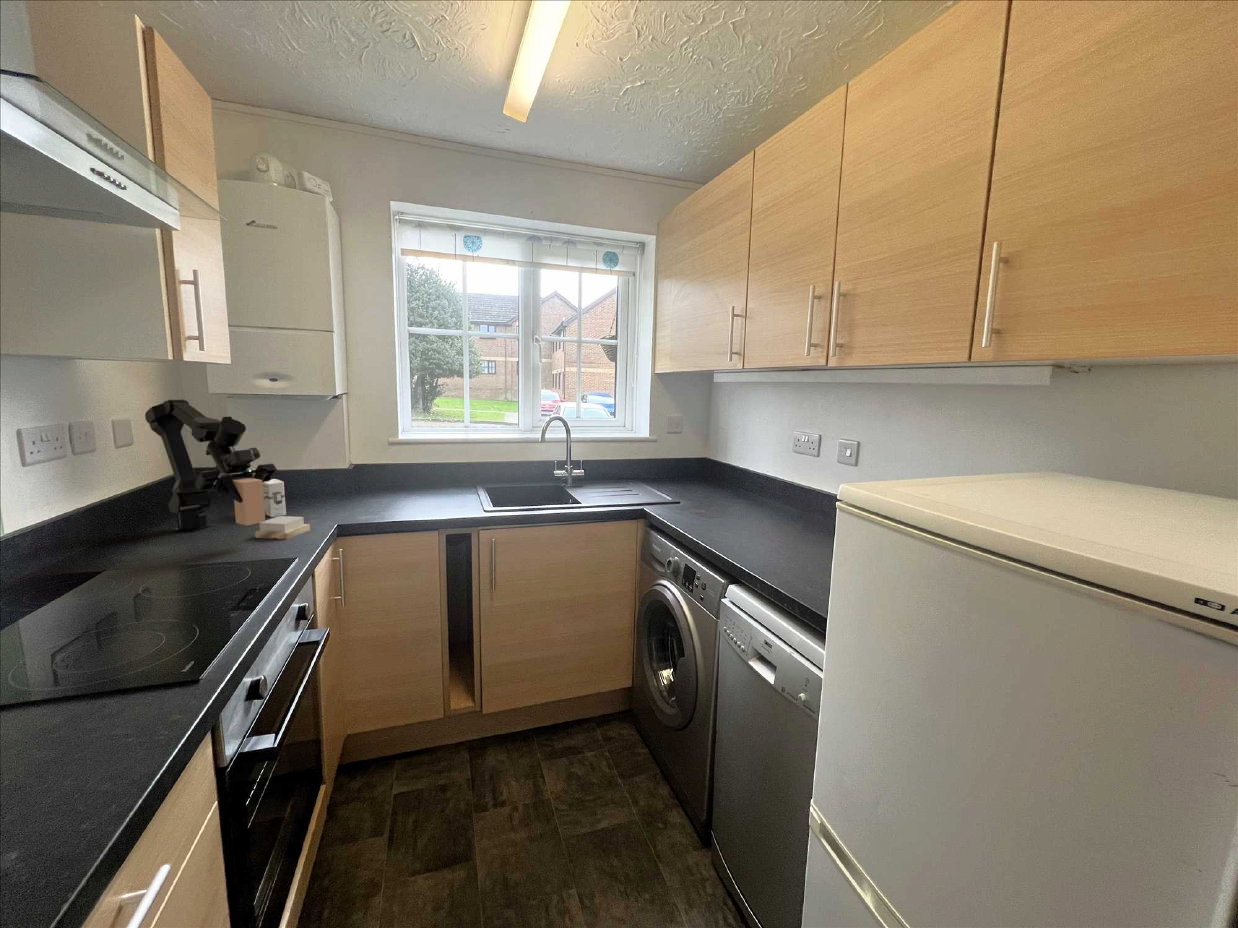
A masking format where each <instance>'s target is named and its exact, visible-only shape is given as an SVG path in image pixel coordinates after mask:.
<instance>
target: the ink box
mask: <svg viewBox="0 0 1238 928" xmlns="http://www.w3.org/2000/svg"><path fill="white" fill-rule="evenodd" d="M262 483H263V496H264V509H265V516H268V517H270V518H275V517H278V516H285V515H287V509H286V497H285V483H284V481H282V480H280V479H276V478H272V479H271V480H270V481H268V482H262Z"/></svg>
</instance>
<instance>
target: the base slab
mask: <svg viewBox="0 0 1238 928" xmlns="http://www.w3.org/2000/svg"><path fill="white" fill-rule="evenodd" d="M310 527H311V526H310V524H309V523H304V525H302V526H300V527H297V528H294V529H292V530H289V531H287V532H274V531H260V529H258V530H256V531H254V535H255V538H257V539H258V538H259V539H273V538H277V539H278V540H289V539H291V538H294V537H296V536H299V535H301V534H304V533H305V532H308V531H310V530H311V528H310ZM288 538H289V539H288ZM277 539H276V540H277Z"/></svg>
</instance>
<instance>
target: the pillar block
mask: <svg viewBox="0 0 1238 928" xmlns="http://www.w3.org/2000/svg"><path fill="white" fill-rule="evenodd" d="M232 482H233V485H234V486H235V488H236V489H237V491H238V492H239V494H240V496H241V498H242V502H241V503H239V502H237V501H236V500H234V499H233V505H234V515H235V523H236V524H239V525H243V526H250V525H256V524H259V523H261V522H265V521H266V515H265V509H264V496H263V483H262V480H259V479H254V478H249V479H241V480H234V481H232Z"/></svg>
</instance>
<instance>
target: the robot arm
mask: <svg viewBox="0 0 1238 928" xmlns="http://www.w3.org/2000/svg"><path fill="white" fill-rule="evenodd" d="M144 418H145V421H146V423H148V424H149V427H150V429H151V430H152V432H154V434H155V433H156V435H158V436H159V437H161V440H162V443H163V446H164V448H165V449H164V450H165V452H166V454H167V458H168V461H169V463H170V467H171V469H172V472H173V475H174V479H175V483H174V485H173V488H172V494H173V495H172V496H171V497H170V500H169V502H168V508H169V511H170V512H172V513H175V515H176V522H177V527H176V528H173V529H172V530H173V531H174V532H175V531H176V532H196V531H199V530H202V529H205V528H208V527H211V524H208V523H207V513H205V509H206V508H207V509H208V508H210V506H211V498H212V493H211V490H212V491H213V492H215V493H216V492H218V493H220V494H221V495H225V496H226V497H229V498H231V500H233V501H234V500H236V501H237V502H239V503H241V502H242V498H241V496H240V494H239V492H238V491H237V489H236V488H235V486H234V485H233V482H232V481H235V480H242V479H249V478H254V479H259V480H262V482H268V481H270V480H271V479H273V477H274V475H275V474H276V473H277V471H278V468H277V467H276V465H275V464H274V463H265V464H264V463H263V464H258V465H257V467H256V468H255V470H248V469H250V468H251V466H252V465H251V463H252V462H255V461H256V460H258V459H259V458H261V453H260V450H259V449H258V448H257V447H256V446H255V447H249V448H248V449H239V450H236V448H235V447H236V446H237V445H239V443H240V441H241V439H242V438H243V436H244V435H245V432H246V430H247V427H246V425H245V424H244V423H242V422H241V421H240V420H237V419H233V418H232V416H222V419H221V420H219V419H217V418H211V417H207V416H205V415H204V414H203V413H202V412H201V411H198V410H197V409H196V408H195V407H193V406H191V405H190V403H189V401H188V400H185V399H167V400H164V402H162V403H160V404H157V405H153V406H151V407H150V408H148V410H147V411H145V415H144ZM184 425H186V426H187V427H188V428H190V429H191V433H190V434H191V436H192V437H193V438H194V439H195V440H196V441H197V442H198V443H208V444H207V446H206V451H205V455H206V456H211V457H212V460H213V461H214V463H215V467H214V468H215V469H213V470H205V471H200V473H199V475H198V476H197V475H196V473H195V470H194V467H193V465H192V461H191V458H190V454H189V452H188V449H187V447H186V444H185V443H186V442H185V441H184V439H183V438H184V437H183V435H182V430H183V427H184Z"/></svg>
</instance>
